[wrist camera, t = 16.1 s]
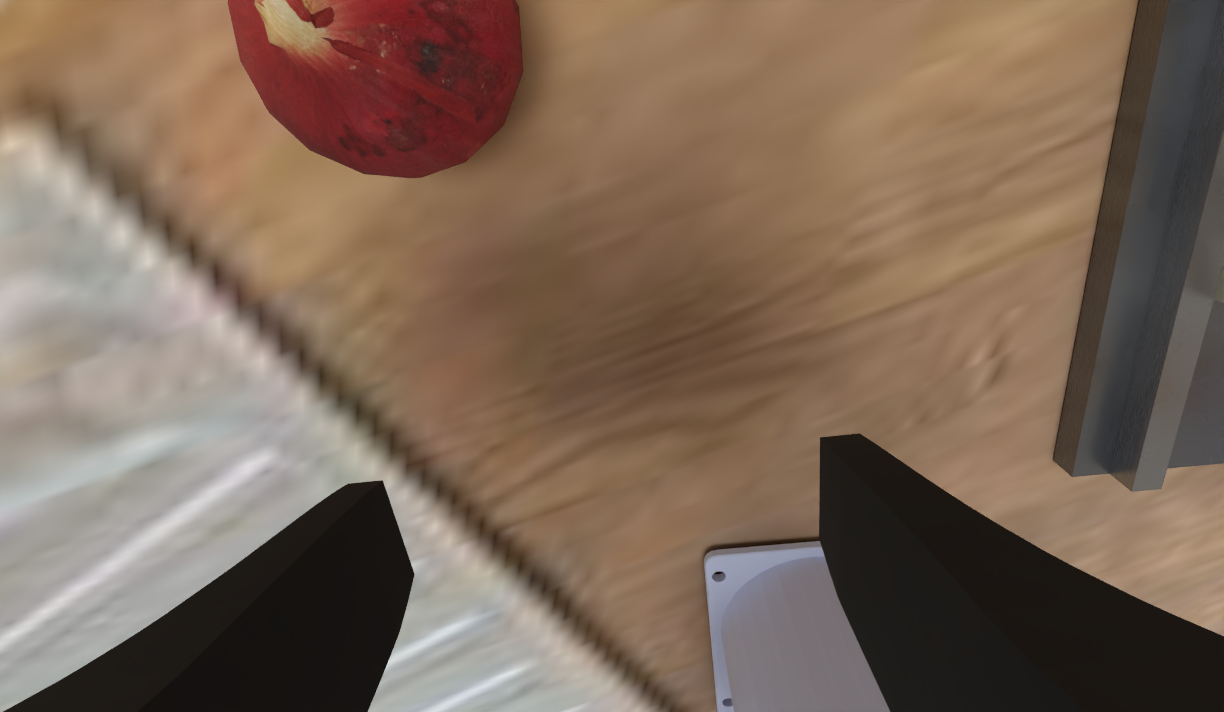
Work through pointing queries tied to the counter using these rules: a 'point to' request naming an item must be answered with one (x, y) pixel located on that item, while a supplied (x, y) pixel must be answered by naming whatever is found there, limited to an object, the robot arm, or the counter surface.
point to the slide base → (1156, 264)
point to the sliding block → (1220, 288)
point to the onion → (384, 76)
